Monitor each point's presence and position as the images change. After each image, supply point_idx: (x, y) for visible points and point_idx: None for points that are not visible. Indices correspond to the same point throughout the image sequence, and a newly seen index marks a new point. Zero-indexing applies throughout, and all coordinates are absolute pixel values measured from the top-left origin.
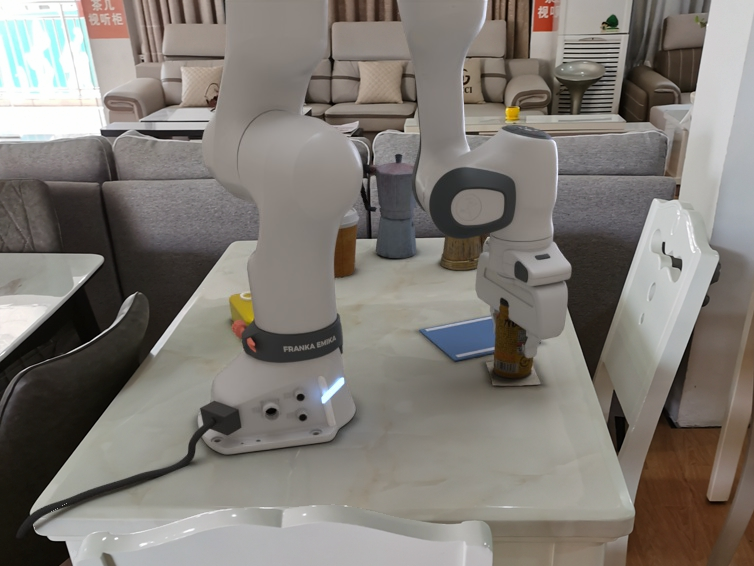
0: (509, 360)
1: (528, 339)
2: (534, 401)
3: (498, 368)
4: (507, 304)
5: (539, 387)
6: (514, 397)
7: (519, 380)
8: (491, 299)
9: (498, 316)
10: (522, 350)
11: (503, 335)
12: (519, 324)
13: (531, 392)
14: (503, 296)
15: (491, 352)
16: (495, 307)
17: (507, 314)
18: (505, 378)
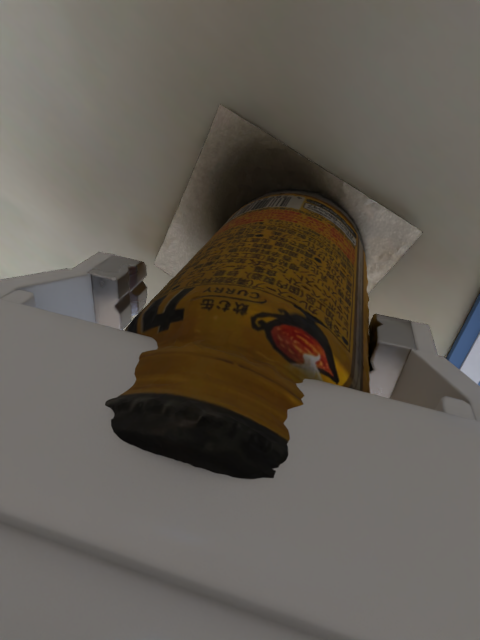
0: (220, 229)
1: (21, 283)
2: (67, 167)
3: (279, 195)
4: (119, 411)
5: (146, 250)
6: (115, 125)
7: (211, 229)
8: (466, 464)
9: (269, 328)
10: (124, 264)
11: (216, 259)
12: (14, 306)
13: (126, 205)
14: (199, 488)
15: (473, 309)
16: (375, 404)
17: (156, 351)
18: (252, 198)
